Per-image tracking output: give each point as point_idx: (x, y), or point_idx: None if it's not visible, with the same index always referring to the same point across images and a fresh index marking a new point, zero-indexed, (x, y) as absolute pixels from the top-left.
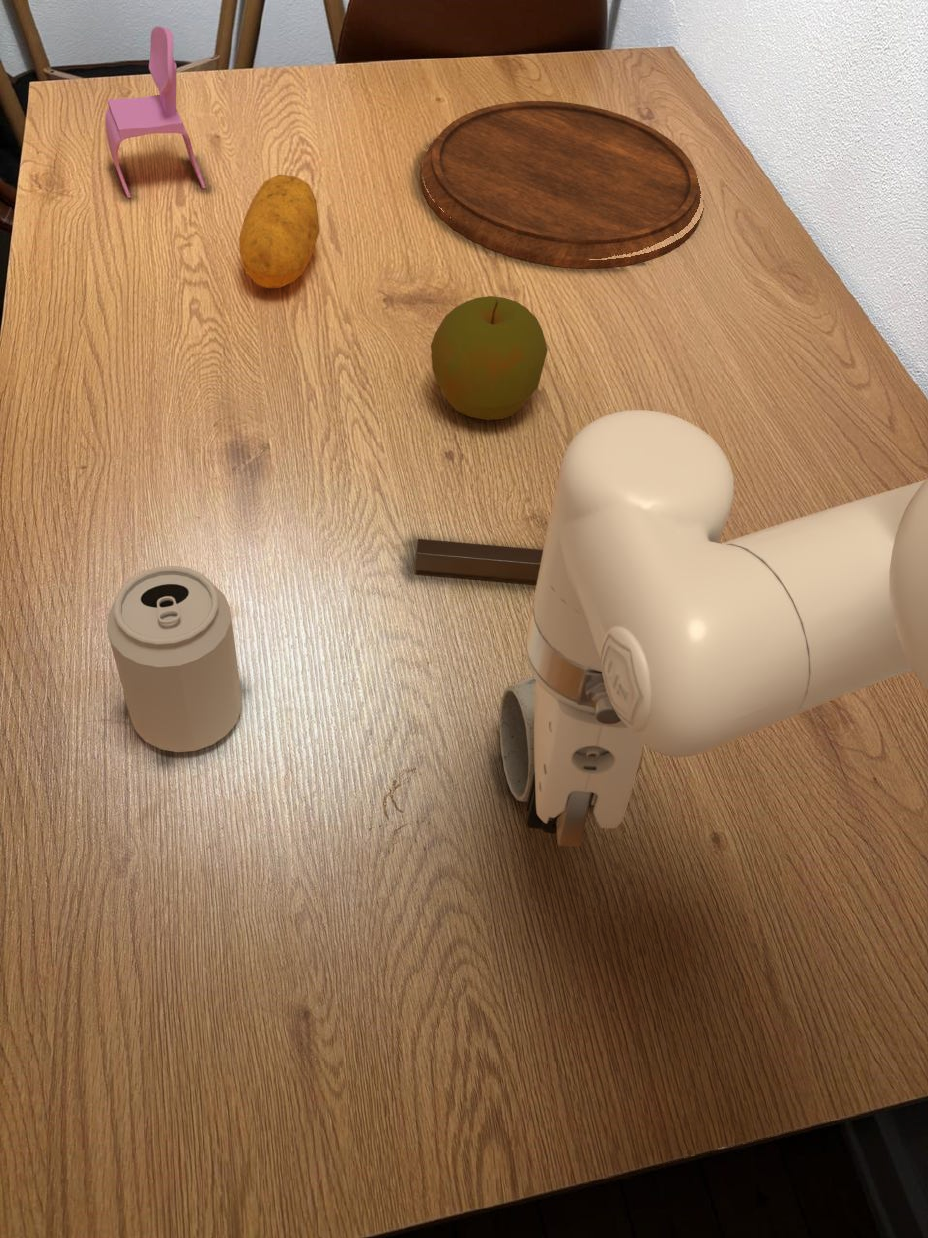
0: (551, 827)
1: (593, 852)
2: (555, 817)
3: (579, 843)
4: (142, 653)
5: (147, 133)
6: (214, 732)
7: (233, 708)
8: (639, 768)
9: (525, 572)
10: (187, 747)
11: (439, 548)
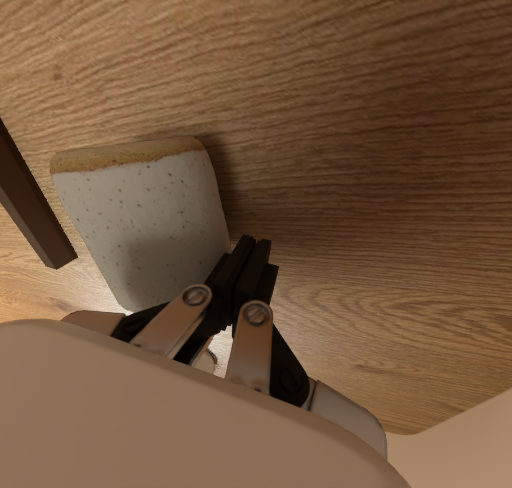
0: (274, 284)
1: (279, 186)
2: (269, 302)
3: (386, 451)
4: None
5: None
6: (204, 366)
7: None
8: (180, 142)
9: (23, 194)
10: (213, 367)
11: (43, 256)
